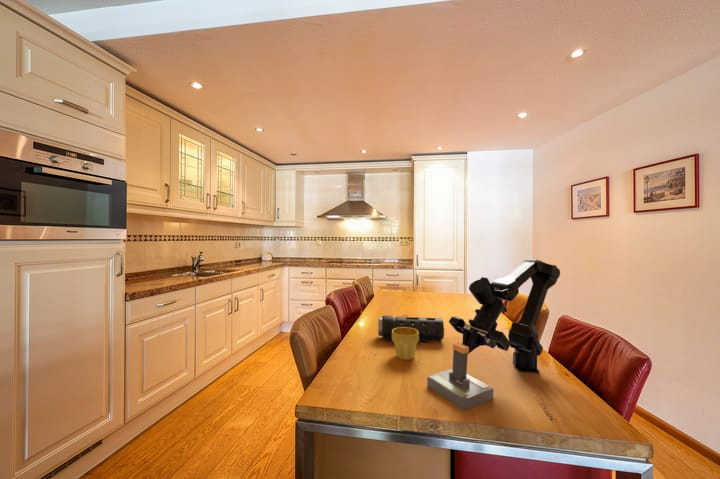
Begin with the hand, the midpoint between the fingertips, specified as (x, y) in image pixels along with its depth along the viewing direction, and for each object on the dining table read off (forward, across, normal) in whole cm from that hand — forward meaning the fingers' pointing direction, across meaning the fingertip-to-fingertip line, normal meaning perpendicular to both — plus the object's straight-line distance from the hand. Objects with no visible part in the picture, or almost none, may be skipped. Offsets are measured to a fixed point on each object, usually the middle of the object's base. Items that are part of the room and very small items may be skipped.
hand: (463, 354), depth 84 cm
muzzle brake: (-1, +40, -16) cm, 44 cm away
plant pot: (+8, +27, -8) cm, 30 cm away
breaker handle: (+6, 0, -4) cm, 8 cm away
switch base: (+9, 0, -7) cm, 11 cm away
